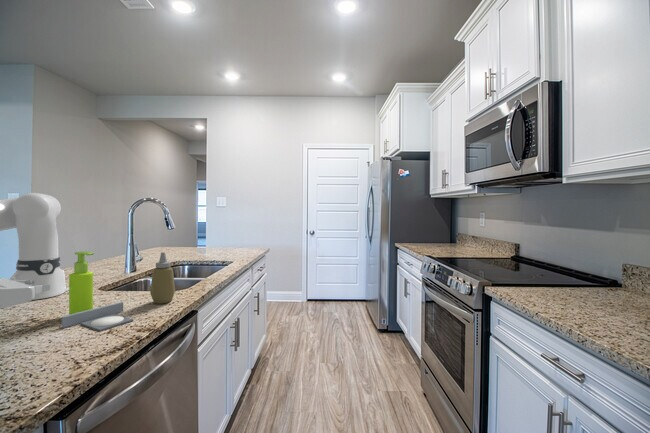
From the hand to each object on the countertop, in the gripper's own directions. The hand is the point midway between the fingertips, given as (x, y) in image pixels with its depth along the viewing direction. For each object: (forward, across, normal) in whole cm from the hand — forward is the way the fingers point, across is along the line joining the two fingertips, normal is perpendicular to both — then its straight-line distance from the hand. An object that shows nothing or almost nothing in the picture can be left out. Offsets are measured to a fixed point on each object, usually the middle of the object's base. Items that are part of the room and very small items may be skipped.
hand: (41, 284), depth 86 cm
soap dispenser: (+10, 0, -12) cm, 16 cm away
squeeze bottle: (+31, +9, -12) cm, 35 cm away
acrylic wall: (+10, +7, -12) cm, 17 cm away
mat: (+10, +14, -12) cm, 21 cm away
